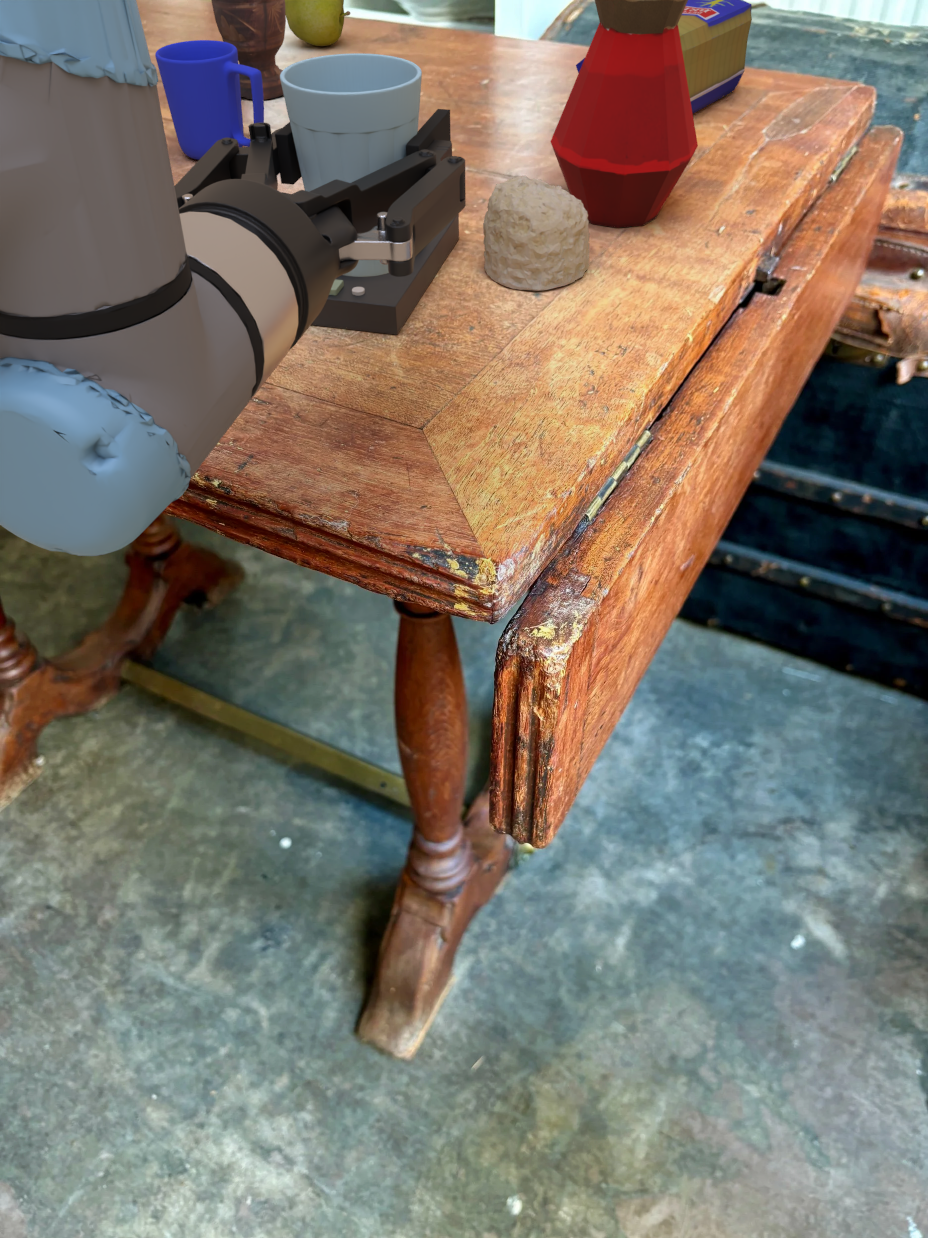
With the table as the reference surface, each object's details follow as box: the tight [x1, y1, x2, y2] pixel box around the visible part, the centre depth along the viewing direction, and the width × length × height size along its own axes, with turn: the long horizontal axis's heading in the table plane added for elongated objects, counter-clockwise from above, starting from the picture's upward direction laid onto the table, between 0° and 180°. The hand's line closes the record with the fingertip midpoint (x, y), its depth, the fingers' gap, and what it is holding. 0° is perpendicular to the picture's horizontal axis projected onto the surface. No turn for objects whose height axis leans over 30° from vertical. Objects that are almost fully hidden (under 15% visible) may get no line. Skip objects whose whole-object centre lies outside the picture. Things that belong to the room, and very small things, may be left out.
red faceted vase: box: [550, 0, 699, 229], centre depth 89 cm, size 16×14×20 cm
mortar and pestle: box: [211, 0, 287, 100], centre depth 116 cm, size 12×9×20 cm
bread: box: [575, 0, 753, 114], centre depth 114 cm, size 10×25×10 cm, turn 143°
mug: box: [154, 39, 265, 161], centre depth 104 cm, size 8×12×10 cm
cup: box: [280, 52, 423, 277], centre depth 58 cm, size 8×8×10 cm
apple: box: [285, 0, 351, 47], centre depth 137 cm, size 8×9×8 cm
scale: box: [310, 213, 460, 336], centre depth 85 cm, size 16×19×3 cm
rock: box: [482, 174, 591, 292], centre depth 84 cm, size 9×10×10 cm
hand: (383, 128), depth 61 cm, fingers closed on cup, 7 cm apart
